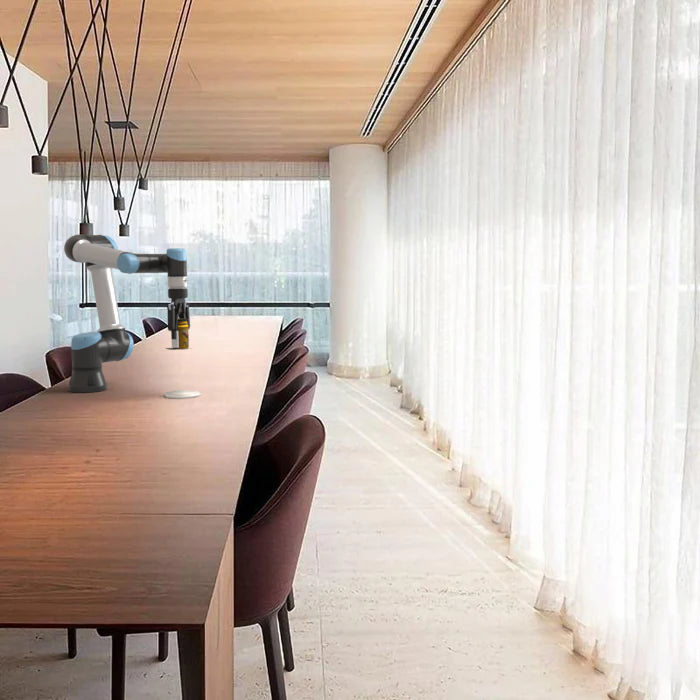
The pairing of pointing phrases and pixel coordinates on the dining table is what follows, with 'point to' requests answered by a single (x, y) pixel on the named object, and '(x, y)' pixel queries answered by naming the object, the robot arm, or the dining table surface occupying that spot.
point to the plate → (182, 394)
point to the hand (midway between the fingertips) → (179, 346)
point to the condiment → (182, 335)
